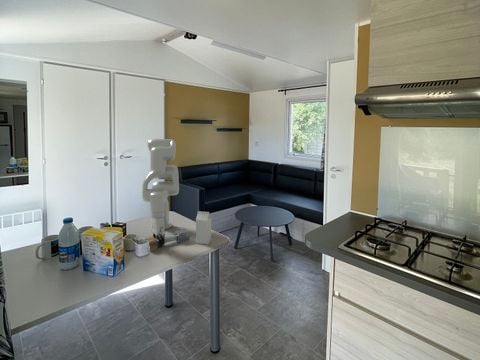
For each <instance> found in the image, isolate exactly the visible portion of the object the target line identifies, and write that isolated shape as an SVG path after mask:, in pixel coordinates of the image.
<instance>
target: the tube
mask: <svg viewBox="0 0 480 360" xmlns="http://www.w3.org/2000/svg"><path fill="white" fill-rule="evenodd" d="M159 234H160V233H159ZM161 236H162V235H160V237H161ZM155 238H156V240H157V248H161V247H163V245H161V246H159V236H158V235H156V234H155ZM164 239H165V244H167V243H170V242H175V240H178V235H177V234H176V235H175V234H172V235H169V236H165V238H164Z"/></svg>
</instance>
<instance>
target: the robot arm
mask: <svg viewBox="0 0 480 360" xmlns="http://www.w3.org/2000/svg"><path fill="white" fill-rule="evenodd" d="M147 148H148V151H149V153H150V160H149V161H150V167H149V168H150V170H149V171H150V172H149V173H148V174H147V175H146V177H145V178H144V180H143V181H142V182H143V183H142V190H141V191H142V193H141V196H142V199H143V201H144V202H146V203H149V207H150V231H151V232H152V236H153V237H154V238H155V234H156V235H158V236H159V246H161V245H162V246H165V244H166V243H165V239H164V238H165V237H166V236H165V235H166V233H165V232H166V230H168V229H170V228H171V227H172V226H173V224H172V223H171V222H170V204H169V203H170V202H169V200H168V198H169V196H177V195H178V194H179V192H180V182H179V177H180V176H179V175H180V174H179V169H178V166H176V165H174V164H171V165H170V164H168V163H167V161H174V160H175V158H176V148H177V144H176V141H175V140H174V139H171V138H153V139H149V140H148V141H147ZM154 179H156V180H163V181H155V182H153V184H152V185H151V188H149V183H150V182H151V181H152V180H154ZM166 180H167V181H166ZM168 180H169V181H168ZM170 180H171V181H170ZM159 233H160V234H159ZM160 235H162V236H161V237H160ZM155 239H156V238H155Z"/></svg>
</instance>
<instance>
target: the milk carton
mask: <svg viewBox="0 0 480 360" xmlns="http://www.w3.org/2000/svg"><path fill="white" fill-rule="evenodd" d="M211 240H212V216H211V215H210V211H200V210H199V211H197V215H196V218H195V243H196V244H198V245H199V244H201V245H208V244H209V243H210V242H211Z"/></svg>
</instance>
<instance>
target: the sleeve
mask: <svg viewBox="0 0 480 360" xmlns="http://www.w3.org/2000/svg"><path fill="white" fill-rule="evenodd" d="M176 234H177V235H178V240H174V242H176V243H178V244H182V243H185V242H189V241H190V231H189V230H187V229H186V228H184V229H183V228H182V229H178V230H175V231H174V235H176Z"/></svg>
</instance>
